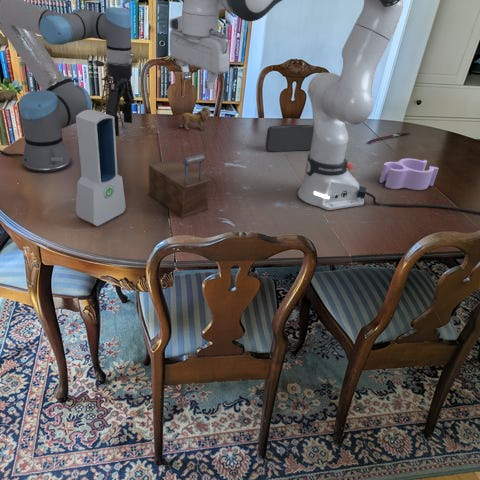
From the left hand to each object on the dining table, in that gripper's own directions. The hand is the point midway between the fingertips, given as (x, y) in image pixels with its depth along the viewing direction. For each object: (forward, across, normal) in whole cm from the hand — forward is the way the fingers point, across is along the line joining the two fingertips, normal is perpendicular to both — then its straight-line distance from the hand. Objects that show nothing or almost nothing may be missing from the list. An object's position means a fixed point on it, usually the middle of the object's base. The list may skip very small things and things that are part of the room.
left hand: (121, 128), depth 157 cm
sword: (+11, +66, -103) cm, 123 cm away
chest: (+13, -20, -24) cm, 34 cm away
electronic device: (+14, -35, -6) cm, 38 cm away
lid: (+4, -20, -25) cm, 32 cm away
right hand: (-25, -25, -30) cm, 46 cm away
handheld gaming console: (+12, +36, -59) cm, 70 cm away
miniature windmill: (+13, +32, +16) cm, 38 cm away
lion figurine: (+13, +46, -16) cm, 50 cm away
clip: (+12, +18, -102) cm, 104 cm away
